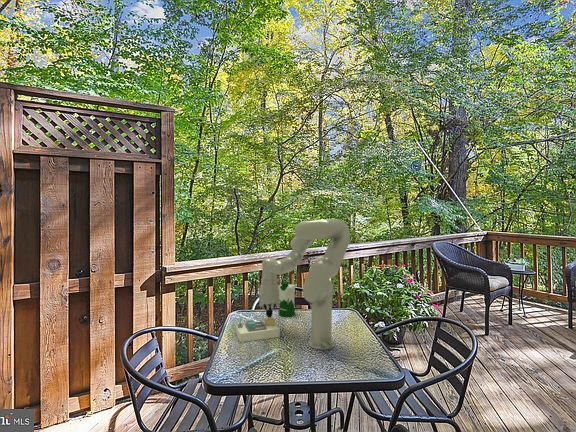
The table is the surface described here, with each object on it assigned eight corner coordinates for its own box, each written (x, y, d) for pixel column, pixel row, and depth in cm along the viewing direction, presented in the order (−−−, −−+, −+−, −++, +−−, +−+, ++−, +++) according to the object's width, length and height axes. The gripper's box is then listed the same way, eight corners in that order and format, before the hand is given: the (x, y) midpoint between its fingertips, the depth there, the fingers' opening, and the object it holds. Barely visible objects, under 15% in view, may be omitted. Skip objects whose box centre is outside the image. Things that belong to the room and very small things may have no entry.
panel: (279, 336, 163) (279, 317, 163) (240, 342, 157) (239, 321, 156) (273, 328, 174) (273, 310, 174) (235, 333, 168) (235, 314, 168)
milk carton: (276, 315, 195) (276, 282, 195) (285, 311, 203) (284, 279, 203) (289, 318, 191) (289, 284, 190) (297, 314, 198) (297, 281, 198)
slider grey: (253, 326, 166) (253, 320, 166) (247, 327, 165) (247, 320, 165) (252, 325, 169) (252, 318, 168) (246, 325, 168) (246, 318, 168)
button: (274, 329, 169) (274, 320, 169) (266, 330, 167) (266, 321, 167) (272, 326, 173) (272, 317, 173) (264, 327, 171) (264, 318, 171)
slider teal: (255, 330, 161) (255, 323, 161) (249, 331, 160) (249, 323, 160) (254, 328, 164) (254, 321, 164) (248, 329, 163) (248, 322, 163)
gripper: (281, 279, 176) (280, 313, 176) (253, 281, 171) (253, 316, 171) (285, 282, 168) (285, 317, 169) (256, 284, 164) (256, 320, 164)
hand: (269, 316), depth 170 cm, fingers closed
